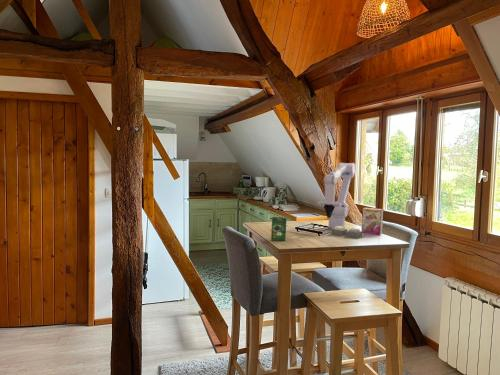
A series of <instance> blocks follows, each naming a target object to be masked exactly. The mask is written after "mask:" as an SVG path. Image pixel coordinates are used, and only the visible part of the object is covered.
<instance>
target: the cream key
mask: <svg viewBox="0 0 500 375" xmlns="http://www.w3.org/2000/svg"><path fill="white" fill-rule="evenodd" d="M345 229H346V227H341V226H336V227H335V228H334V230H341V231H342V230H345Z"/></svg>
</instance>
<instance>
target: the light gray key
mask: <svg viewBox="0 0 500 375" xmlns="http://www.w3.org/2000/svg"><path fill="white" fill-rule="evenodd" d="M348 231H349V232H354V233H358V232H359V231H361V230H360V228H355V227H352V228H349V229H348Z"/></svg>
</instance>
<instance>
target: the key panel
mask: <svg viewBox="0 0 500 375" xmlns="http://www.w3.org/2000/svg"><path fill="white" fill-rule="evenodd" d="M329 236H335V237H341V238H342V237H343V238H348V239H353V240H359V239H363V238H365V236H364V235H363V233H362V230H360V231H359V232H358V233H354V232H349V229H347V228H345V230H342V231H341V230H334V229H331V233H329Z"/></svg>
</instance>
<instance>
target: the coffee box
mask: <svg viewBox="0 0 500 375" xmlns="http://www.w3.org/2000/svg"><path fill="white" fill-rule="evenodd" d="M286 233H287V217H286V216H285V217H284V216H272V218H271V233H270V234H271V236H270V238H271V240H270V241H273V242H274V241H277V242H278V241H280V242H285V241H286V235H287V234H286Z"/></svg>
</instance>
